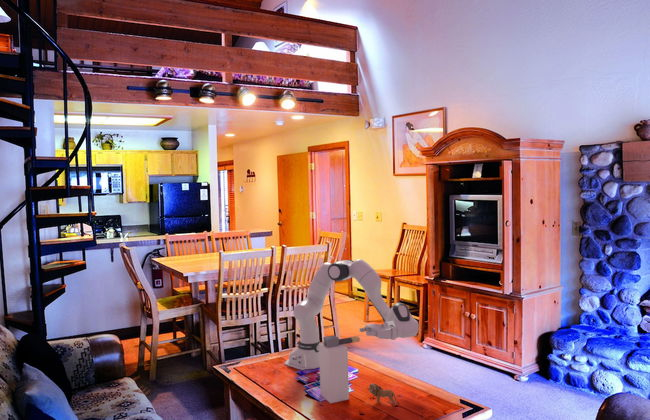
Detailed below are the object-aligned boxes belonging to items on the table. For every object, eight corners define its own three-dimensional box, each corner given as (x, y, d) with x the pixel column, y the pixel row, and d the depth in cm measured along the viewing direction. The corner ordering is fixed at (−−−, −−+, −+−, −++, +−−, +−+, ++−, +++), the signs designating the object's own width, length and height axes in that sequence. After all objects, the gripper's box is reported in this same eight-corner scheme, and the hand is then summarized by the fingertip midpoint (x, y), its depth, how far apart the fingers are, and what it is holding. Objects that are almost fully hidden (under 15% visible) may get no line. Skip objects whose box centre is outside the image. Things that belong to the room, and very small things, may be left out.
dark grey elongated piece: (355, 339, 254) (355, 331, 254) (360, 342, 249) (360, 334, 249) (323, 344, 247) (323, 336, 246) (327, 347, 242) (327, 339, 242)
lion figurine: (368, 403, 238) (367, 385, 238) (370, 399, 243) (370, 381, 243) (398, 407, 234) (398, 388, 233) (400, 402, 239) (400, 383, 238)
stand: (338, 390, 255) (337, 340, 253) (348, 399, 244) (347, 346, 242) (320, 394, 251) (318, 343, 249) (330, 403, 240) (328, 350, 238)
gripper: (380, 320, 265) (356, 322, 261) (396, 327, 245) (370, 329, 241) (381, 332, 264) (356, 334, 261) (396, 340, 245) (370, 342, 241)
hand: (363, 331), depth 251 cm, fingers open, 8 cm apart
